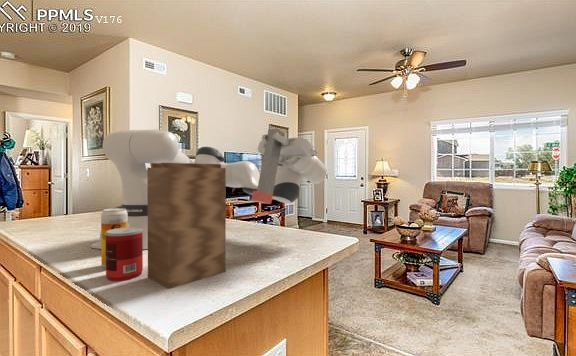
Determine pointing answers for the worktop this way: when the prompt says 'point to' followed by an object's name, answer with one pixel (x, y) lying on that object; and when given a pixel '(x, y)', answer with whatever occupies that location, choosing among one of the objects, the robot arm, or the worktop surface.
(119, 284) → the worktop surface
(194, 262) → the wooden slab
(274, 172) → the metal block
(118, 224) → the beer can
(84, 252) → the worktop surface
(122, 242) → the canned food
